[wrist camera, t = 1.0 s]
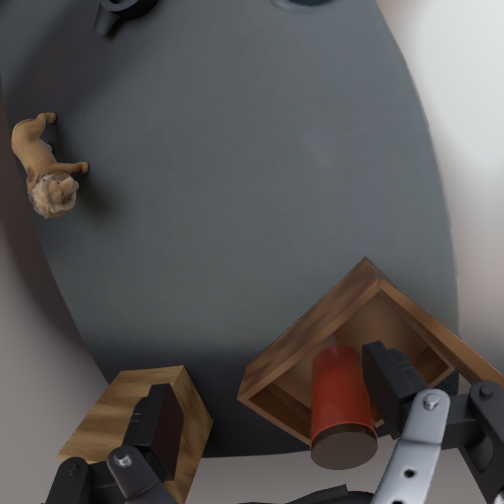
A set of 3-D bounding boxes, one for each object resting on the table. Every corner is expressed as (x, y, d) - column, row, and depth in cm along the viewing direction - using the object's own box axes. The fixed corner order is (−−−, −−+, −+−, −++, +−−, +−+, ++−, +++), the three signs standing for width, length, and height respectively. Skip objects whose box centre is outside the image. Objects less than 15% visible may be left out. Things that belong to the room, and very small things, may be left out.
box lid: (567, 492, 7) (611, 439, 6) (537, 436, 5) (610, 330, 5) (458, 371, 25) (486, 337, 24) (376, 285, 24) (411, 243, 23)
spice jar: (344, 391, 33) (352, 475, 22) (301, 375, 33) (296, 461, 22) (372, 356, 32) (392, 440, 20) (327, 337, 32) (334, 423, 20)
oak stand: (213, 421, 39) (179, 519, 24) (152, 423, 41) (108, 505, 26) (183, 365, 36) (128, 467, 21) (120, 370, 39) (58, 453, 24)
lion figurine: (118, 179, 31) (62, 192, 22) (93, 216, 32) (39, 238, 24) (46, 102, 29) (-10, 99, 21) (26, 138, 31) (-28, 142, 22)
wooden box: (327, 422, 36) (328, 456, 31) (246, 365, 35) (236, 399, 30) (440, 336, 31) (459, 366, 25) (365, 256, 29) (378, 279, 24)
